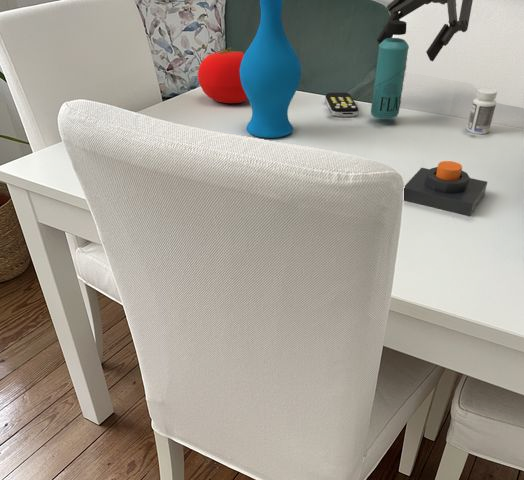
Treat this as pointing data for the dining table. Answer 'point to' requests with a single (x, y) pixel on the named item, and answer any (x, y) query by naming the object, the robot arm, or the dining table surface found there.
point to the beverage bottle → (390, 73)
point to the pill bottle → (482, 111)
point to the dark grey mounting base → (445, 191)
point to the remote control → (341, 104)
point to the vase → (270, 74)
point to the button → (449, 170)
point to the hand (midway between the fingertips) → (404, 50)
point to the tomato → (222, 76)
